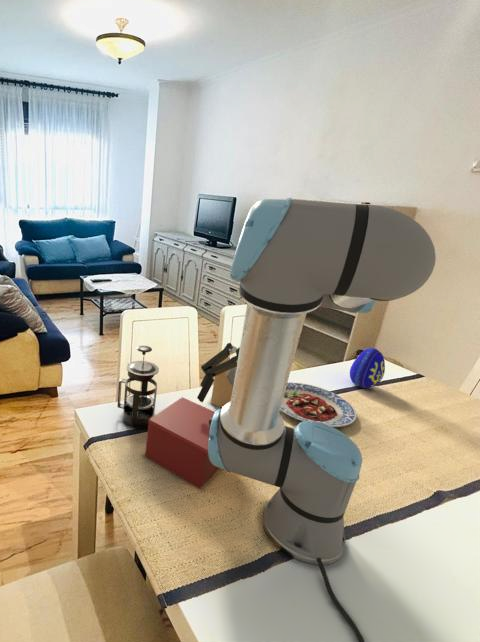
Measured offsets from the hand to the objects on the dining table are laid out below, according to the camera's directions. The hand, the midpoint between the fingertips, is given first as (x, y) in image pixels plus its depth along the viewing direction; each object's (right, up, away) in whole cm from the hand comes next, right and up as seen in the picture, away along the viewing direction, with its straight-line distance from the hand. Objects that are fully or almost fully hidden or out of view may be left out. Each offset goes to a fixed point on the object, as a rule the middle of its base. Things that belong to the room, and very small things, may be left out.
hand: (224, 411), depth 91 cm
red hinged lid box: (-7, -13, +7) cm, 17 cm away
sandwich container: (+13, -5, +32) cm, 35 cm away
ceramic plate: (+36, -6, +33) cm, 49 cm away
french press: (-20, -7, +22) cm, 30 cm away
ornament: (+63, -1, +49) cm, 80 cm away
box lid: (-7, -4, +3) cm, 8 cm away
